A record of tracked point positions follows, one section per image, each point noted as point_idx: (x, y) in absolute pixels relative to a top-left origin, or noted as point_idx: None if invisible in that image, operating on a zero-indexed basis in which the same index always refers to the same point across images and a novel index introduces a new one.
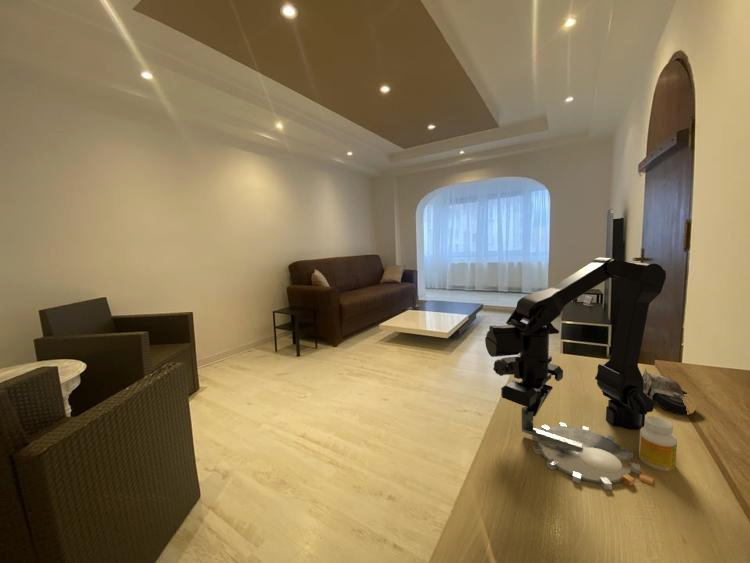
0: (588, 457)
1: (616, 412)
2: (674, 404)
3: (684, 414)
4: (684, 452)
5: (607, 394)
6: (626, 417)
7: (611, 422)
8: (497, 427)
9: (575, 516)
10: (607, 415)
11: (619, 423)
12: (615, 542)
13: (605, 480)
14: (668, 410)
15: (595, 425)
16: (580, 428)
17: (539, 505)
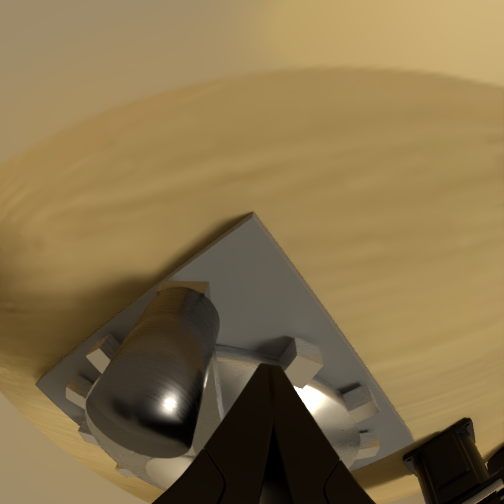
0: (178, 469)
1: (436, 490)
2: (496, 471)
3: (487, 464)
4: (373, 499)
5: (497, 480)
6: (426, 492)
7: (432, 457)
8: (233, 93)
9: (37, 398)
10: (453, 454)
11: (425, 468)
12: (50, 431)
13: (125, 472)
14: (497, 455)
15: (440, 415)
16: (357, 447)
17: (2, 345)
